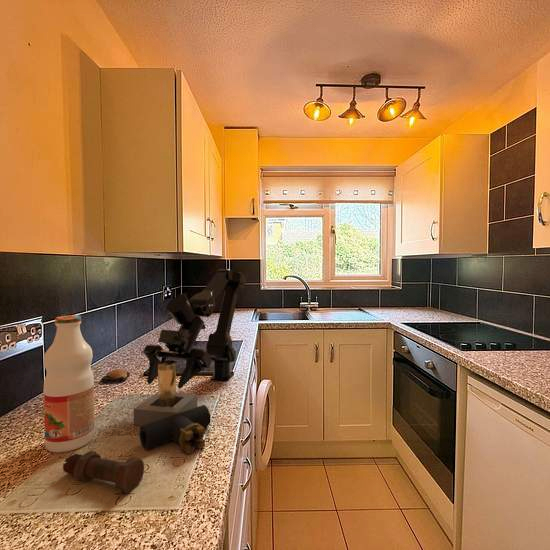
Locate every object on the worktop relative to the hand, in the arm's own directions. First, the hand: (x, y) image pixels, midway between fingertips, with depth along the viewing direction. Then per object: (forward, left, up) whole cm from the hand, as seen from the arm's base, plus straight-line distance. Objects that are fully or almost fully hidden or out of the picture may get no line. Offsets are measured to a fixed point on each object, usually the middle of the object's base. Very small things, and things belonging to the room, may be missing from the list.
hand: (163, 385), depth 82 cm
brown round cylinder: (-1, 0, -9) cm, 9 cm away
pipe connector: (+9, +10, -9) cm, 16 cm away
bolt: (+24, +1, -9) cm, 25 cm away
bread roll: (-24, -32, -9) cm, 41 cm away
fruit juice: (+14, -15, -9) cm, 22 cm away
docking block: (-1, 0, -9) cm, 9 cm away
